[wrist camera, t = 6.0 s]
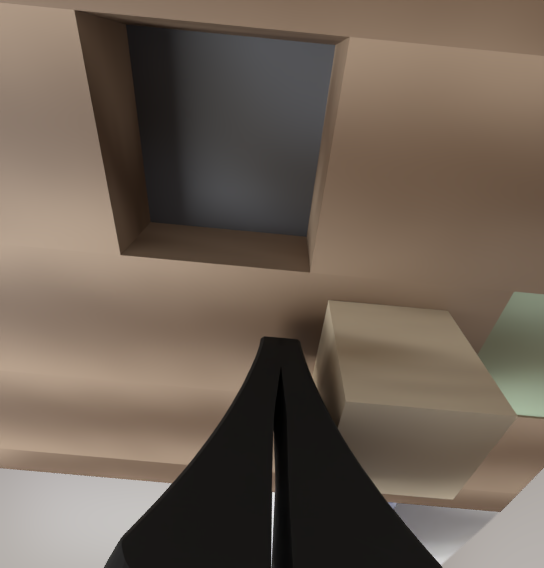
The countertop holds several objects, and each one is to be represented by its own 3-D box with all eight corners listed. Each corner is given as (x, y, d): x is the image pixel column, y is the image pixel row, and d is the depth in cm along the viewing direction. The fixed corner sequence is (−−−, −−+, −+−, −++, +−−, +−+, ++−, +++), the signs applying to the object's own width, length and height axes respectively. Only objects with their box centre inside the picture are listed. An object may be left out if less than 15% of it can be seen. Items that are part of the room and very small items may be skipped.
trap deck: (474, 458, 21) (500, 512, 18) (17, 417, 20) (-21, 466, 18) (820, -2, 9) (1035, -31, 6) (-271, -111, 9) (-506, -187, 6)
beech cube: (411, 390, 13) (452, 499, 10) (311, 381, 13) (318, 487, 10) (448, 310, 11) (518, 416, 8) (328, 300, 11) (345, 401, 8)
